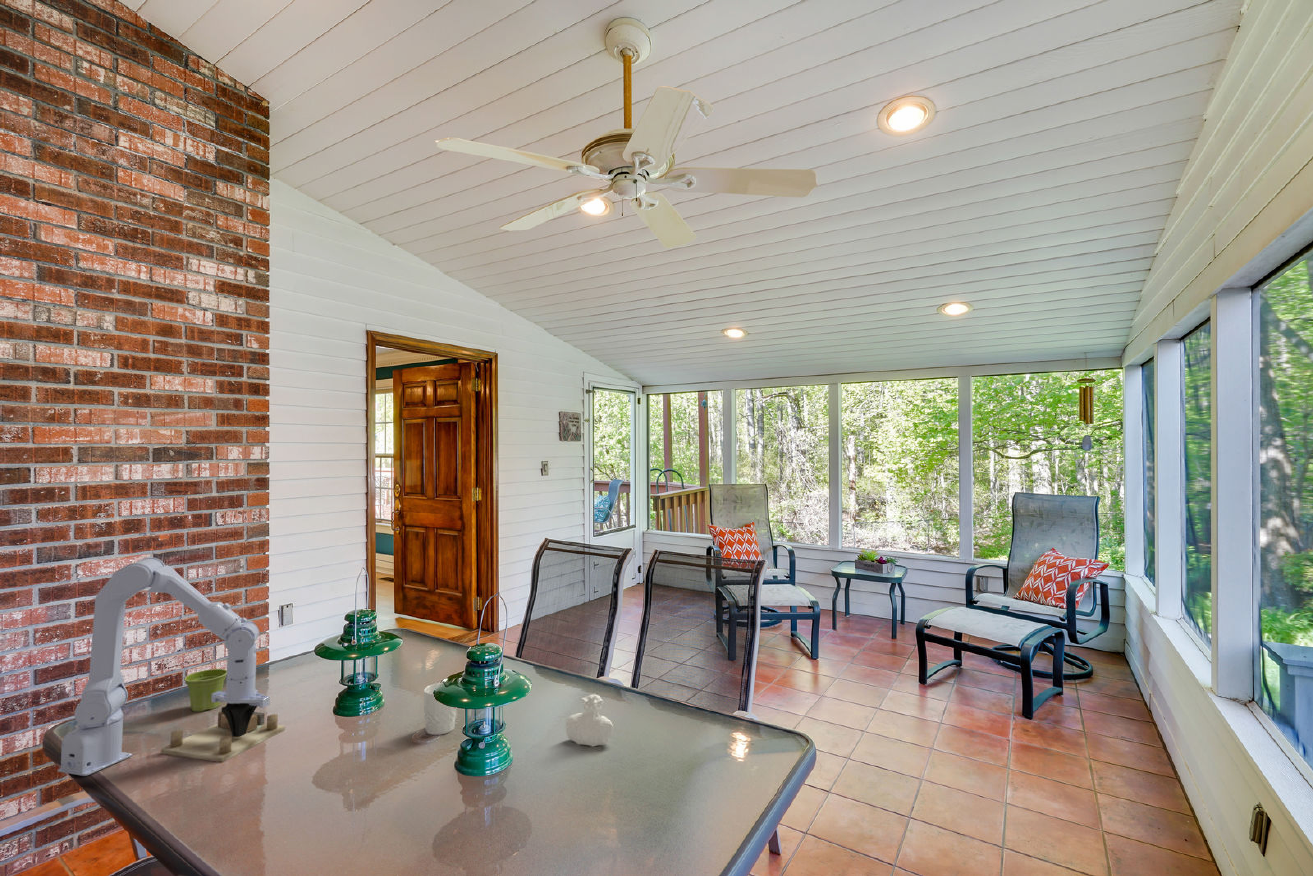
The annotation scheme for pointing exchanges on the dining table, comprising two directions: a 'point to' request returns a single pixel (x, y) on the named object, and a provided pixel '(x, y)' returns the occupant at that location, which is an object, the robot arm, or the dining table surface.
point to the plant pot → (205, 688)
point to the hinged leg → (225, 725)
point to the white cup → (437, 714)
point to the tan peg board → (221, 740)
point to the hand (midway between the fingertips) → (239, 735)
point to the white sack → (589, 724)
